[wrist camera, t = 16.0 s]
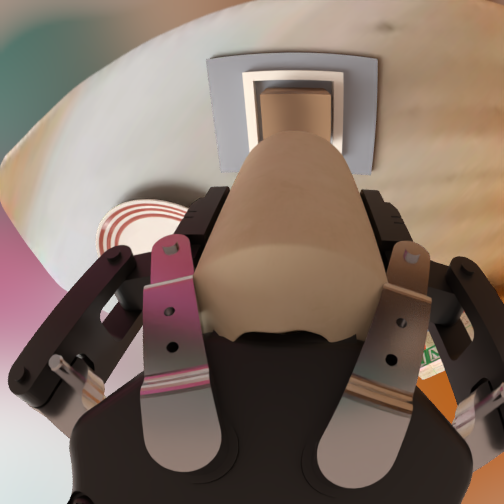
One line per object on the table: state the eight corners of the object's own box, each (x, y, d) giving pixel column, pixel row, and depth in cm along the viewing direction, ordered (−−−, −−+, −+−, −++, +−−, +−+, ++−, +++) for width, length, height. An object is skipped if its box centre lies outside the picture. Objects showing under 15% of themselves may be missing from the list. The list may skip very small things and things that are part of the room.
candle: (361, 141, 12) (452, 318, 4) (336, 233, 15) (350, 414, 8) (245, 121, 12) (142, 275, 4) (238, 218, 15) (183, 393, 8)
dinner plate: (282, 297, 47) (280, 312, 45) (166, 320, 58) (161, 332, 56) (192, 155, 33) (183, 165, 30) (80, 226, 44) (71, 237, 41)
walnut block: (324, 88, 24) (330, 94, 20) (324, 139, 28) (329, 158, 24) (266, 87, 25) (259, 94, 21) (270, 139, 29) (264, 157, 25)
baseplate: (375, 58, 22) (381, 59, 20) (369, 171, 30) (373, 180, 29) (208, 59, 24) (201, 59, 23) (222, 169, 33) (217, 177, 31)
